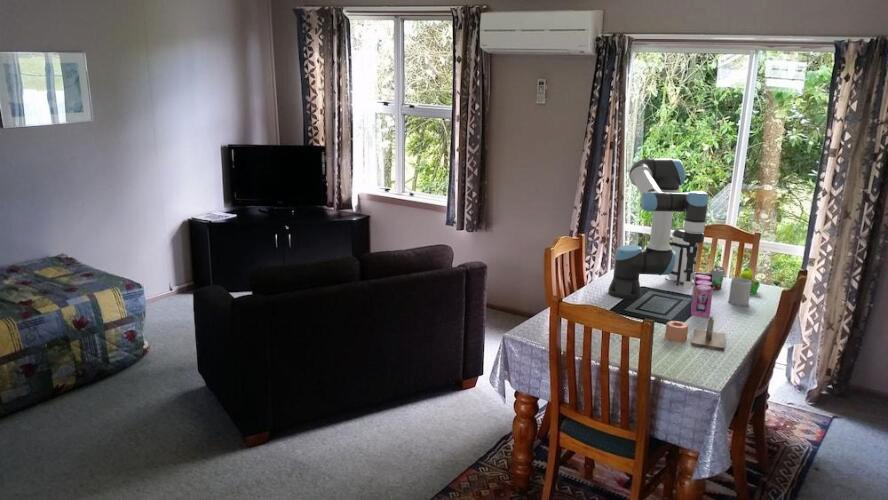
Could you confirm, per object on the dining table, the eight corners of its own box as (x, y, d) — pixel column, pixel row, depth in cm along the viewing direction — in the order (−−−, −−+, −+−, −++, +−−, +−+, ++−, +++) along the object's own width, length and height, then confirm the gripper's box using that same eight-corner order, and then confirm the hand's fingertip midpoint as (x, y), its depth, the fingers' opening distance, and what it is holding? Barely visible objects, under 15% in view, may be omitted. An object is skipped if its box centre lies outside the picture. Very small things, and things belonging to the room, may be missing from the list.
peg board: (690, 345, 261) (693, 320, 258) (693, 331, 275) (696, 308, 273) (724, 350, 257) (727, 325, 254) (724, 336, 271) (728, 312, 268)
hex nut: (686, 343, 263) (687, 329, 261) (663, 339, 266) (665, 325, 265) (687, 337, 269) (689, 323, 268) (665, 333, 273) (667, 319, 271)
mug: (748, 307, 306) (751, 284, 303) (727, 304, 309) (731, 281, 306) (748, 299, 316) (752, 277, 313) (729, 296, 320) (732, 274, 317)
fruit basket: (732, 292, 326) (735, 270, 324) (732, 287, 334) (735, 265, 332) (758, 295, 323) (761, 272, 320) (757, 290, 331) (760, 268, 328)
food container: (720, 293, 325) (723, 273, 322) (707, 290, 328) (709, 271, 325) (725, 286, 335) (728, 267, 332) (712, 284, 338) (715, 265, 336)
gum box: (709, 319, 290) (713, 289, 286) (690, 316, 293) (693, 286, 289) (709, 302, 312) (712, 274, 308) (691, 299, 314) (694, 272, 311)
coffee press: (668, 275, 351) (674, 219, 344) (699, 281, 342) (706, 223, 335) (657, 283, 338) (663, 225, 330) (689, 289, 329) (696, 230, 321)
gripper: (703, 238, 248) (697, 294, 253) (705, 226, 270) (699, 277, 275) (681, 236, 251) (676, 291, 255) (685, 225, 273) (679, 275, 278)
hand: (688, 284), depth 265 cm, fingers open, 13 cm apart
